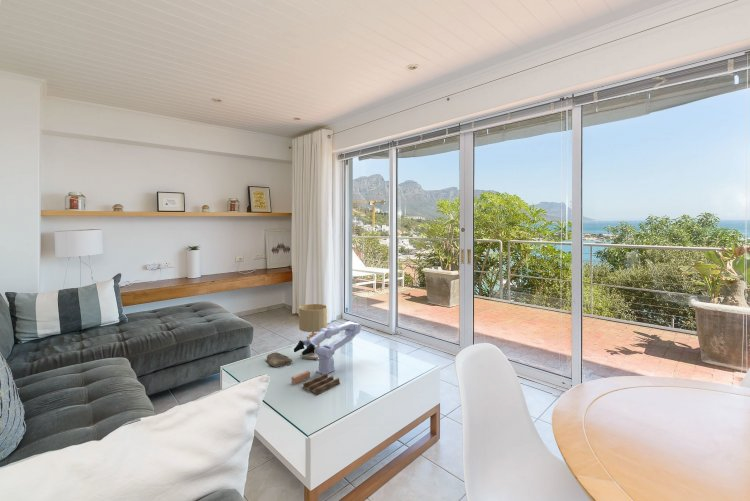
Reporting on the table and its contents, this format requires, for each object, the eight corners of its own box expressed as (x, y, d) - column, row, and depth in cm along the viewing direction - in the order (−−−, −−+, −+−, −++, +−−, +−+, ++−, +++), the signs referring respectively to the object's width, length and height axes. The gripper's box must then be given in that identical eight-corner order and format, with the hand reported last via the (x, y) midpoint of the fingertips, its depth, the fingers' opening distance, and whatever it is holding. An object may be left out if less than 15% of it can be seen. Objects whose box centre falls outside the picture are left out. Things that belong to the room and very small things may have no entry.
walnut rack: (326, 378, 214) (326, 373, 214) (339, 383, 207) (340, 378, 206) (302, 388, 200) (302, 383, 200) (316, 395, 193) (316, 389, 193)
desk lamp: (305, 349, 262) (305, 303, 259) (330, 351, 258) (330, 304, 255) (294, 359, 243) (294, 309, 240) (321, 362, 239) (321, 311, 236)
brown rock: (262, 359, 243) (272, 369, 227) (262, 352, 243) (272, 361, 227) (282, 355, 251) (293, 364, 235) (282, 349, 251) (293, 357, 235)
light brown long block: (307, 376, 216) (307, 370, 216) (310, 378, 215) (310, 371, 214) (291, 383, 207) (291, 377, 207) (294, 384, 205) (294, 378, 205)
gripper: (306, 332, 220) (289, 343, 210) (321, 337, 211) (304, 349, 201) (308, 342, 222) (292, 353, 213) (324, 347, 213) (307, 360, 203)
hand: (298, 352), depth 207 cm, fingers open, 7 cm apart
